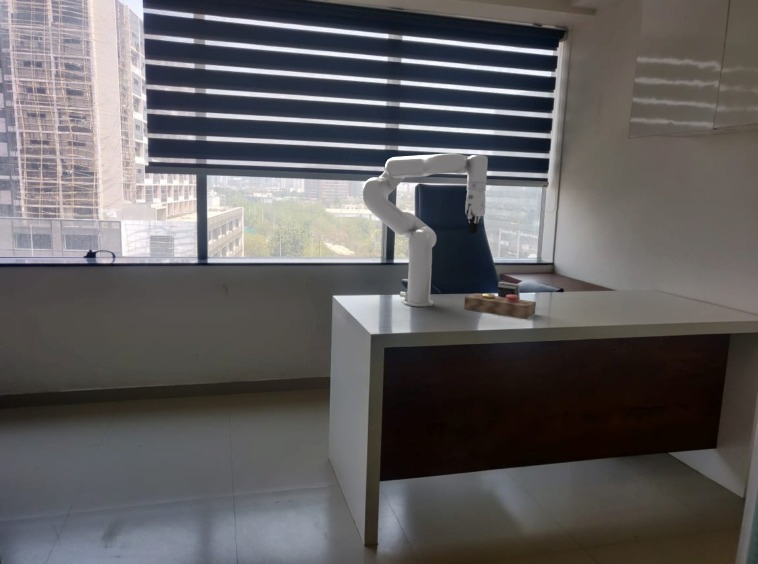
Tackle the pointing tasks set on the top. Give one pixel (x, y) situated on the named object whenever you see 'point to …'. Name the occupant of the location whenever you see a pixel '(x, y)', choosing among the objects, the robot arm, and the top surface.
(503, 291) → the electrical switch
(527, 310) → the plug block
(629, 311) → the top surface
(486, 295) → the brass plug
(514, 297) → the oxblood plug
